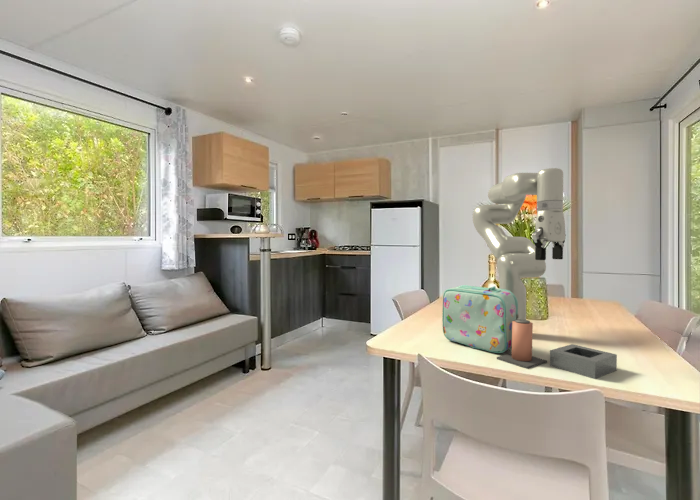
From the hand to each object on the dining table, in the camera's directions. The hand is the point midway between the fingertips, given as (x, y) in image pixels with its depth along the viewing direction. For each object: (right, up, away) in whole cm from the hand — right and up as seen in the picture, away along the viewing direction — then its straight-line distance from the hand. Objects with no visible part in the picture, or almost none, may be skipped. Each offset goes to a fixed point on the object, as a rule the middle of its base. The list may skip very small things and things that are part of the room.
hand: (549, 259), depth 119 cm
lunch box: (-20, -31, +7) cm, 37 cm away
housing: (+1, -31, -15) cm, 34 cm away
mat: (-13, -31, -8) cm, 34 cm away
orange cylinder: (-13, -30, -8) cm, 34 cm away
